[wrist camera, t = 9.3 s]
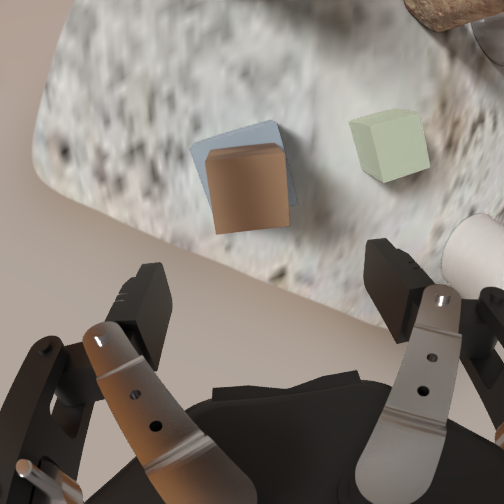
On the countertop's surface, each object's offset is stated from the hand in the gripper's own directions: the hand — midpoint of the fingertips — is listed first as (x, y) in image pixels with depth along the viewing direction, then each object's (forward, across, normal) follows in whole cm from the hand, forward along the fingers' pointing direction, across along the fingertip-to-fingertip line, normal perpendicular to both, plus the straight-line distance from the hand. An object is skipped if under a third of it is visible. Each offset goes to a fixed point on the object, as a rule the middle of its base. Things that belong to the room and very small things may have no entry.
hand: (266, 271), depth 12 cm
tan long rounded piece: (+18, -20, -17) cm, 32 cm away
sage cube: (+18, -13, -2) cm, 22 cm away
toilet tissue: (+19, -28, +12) cm, 36 cm away
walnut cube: (+14, 0, 0) cm, 14 cm away
